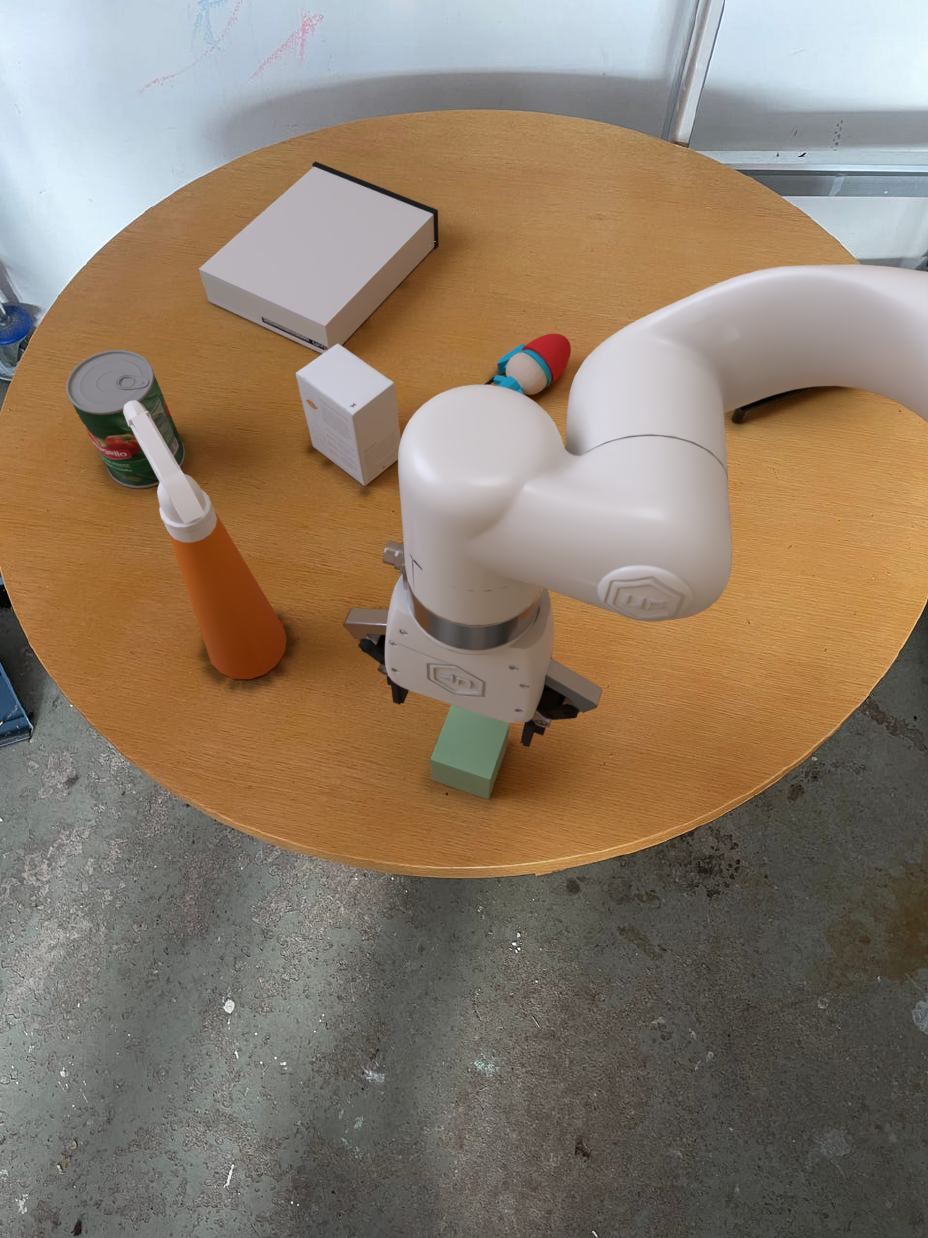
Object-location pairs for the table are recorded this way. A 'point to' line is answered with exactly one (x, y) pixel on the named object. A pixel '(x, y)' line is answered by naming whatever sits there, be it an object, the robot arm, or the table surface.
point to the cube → (469, 751)
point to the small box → (350, 413)
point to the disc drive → (321, 257)
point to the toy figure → (533, 364)
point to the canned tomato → (121, 412)
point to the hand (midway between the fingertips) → (467, 707)
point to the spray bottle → (211, 566)
